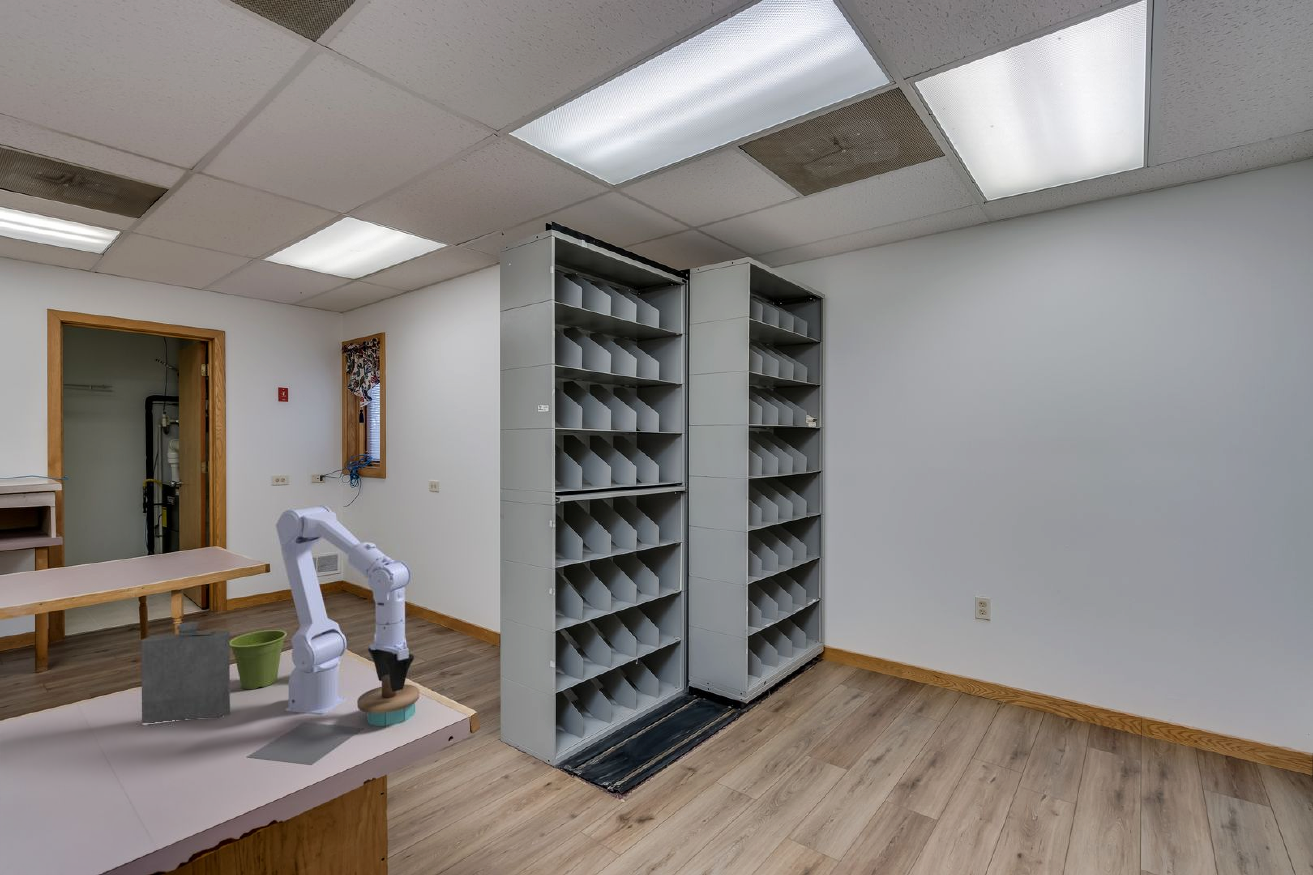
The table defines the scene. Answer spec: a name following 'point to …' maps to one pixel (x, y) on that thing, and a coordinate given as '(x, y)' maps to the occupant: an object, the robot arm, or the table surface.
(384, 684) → the lid
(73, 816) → the table surface
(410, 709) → the bowl
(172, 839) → the table surface
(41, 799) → the table surface
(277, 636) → the plant pot
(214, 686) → the hip flask
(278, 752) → the mat
